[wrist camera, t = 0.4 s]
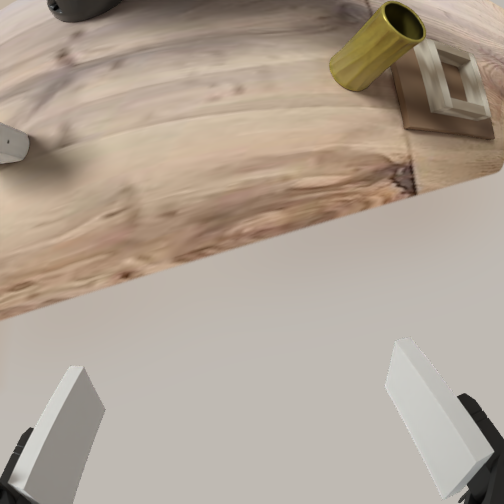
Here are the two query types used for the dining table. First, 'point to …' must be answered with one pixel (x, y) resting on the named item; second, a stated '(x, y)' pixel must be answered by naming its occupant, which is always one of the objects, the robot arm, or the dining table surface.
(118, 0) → the robot arm
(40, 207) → the dining table surface
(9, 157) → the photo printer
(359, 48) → the vase
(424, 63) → the stand
